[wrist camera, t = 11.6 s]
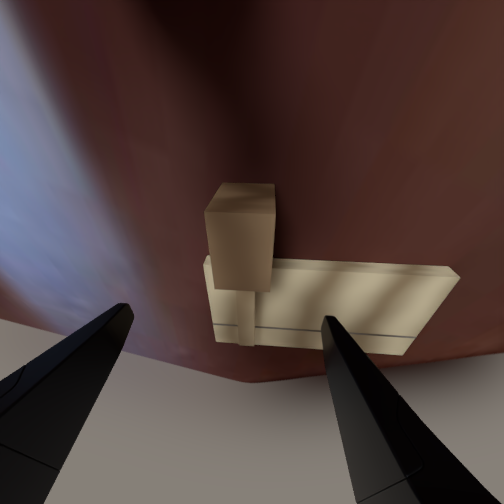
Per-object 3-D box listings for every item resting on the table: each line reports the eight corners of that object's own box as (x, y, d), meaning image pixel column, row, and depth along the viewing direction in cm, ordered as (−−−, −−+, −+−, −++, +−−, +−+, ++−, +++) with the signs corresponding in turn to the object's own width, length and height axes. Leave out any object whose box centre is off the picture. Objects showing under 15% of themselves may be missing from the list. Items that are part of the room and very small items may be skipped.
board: (448, 266, 19) (460, 277, 18) (396, 343, 26) (402, 355, 25) (207, 255, 20) (203, 265, 19) (218, 331, 27) (215, 342, 26)
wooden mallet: (274, 183, 16) (275, 214, 12) (266, 318, 25) (264, 365, 21) (222, 182, 16) (204, 211, 12) (232, 316, 25) (224, 362, 21)
